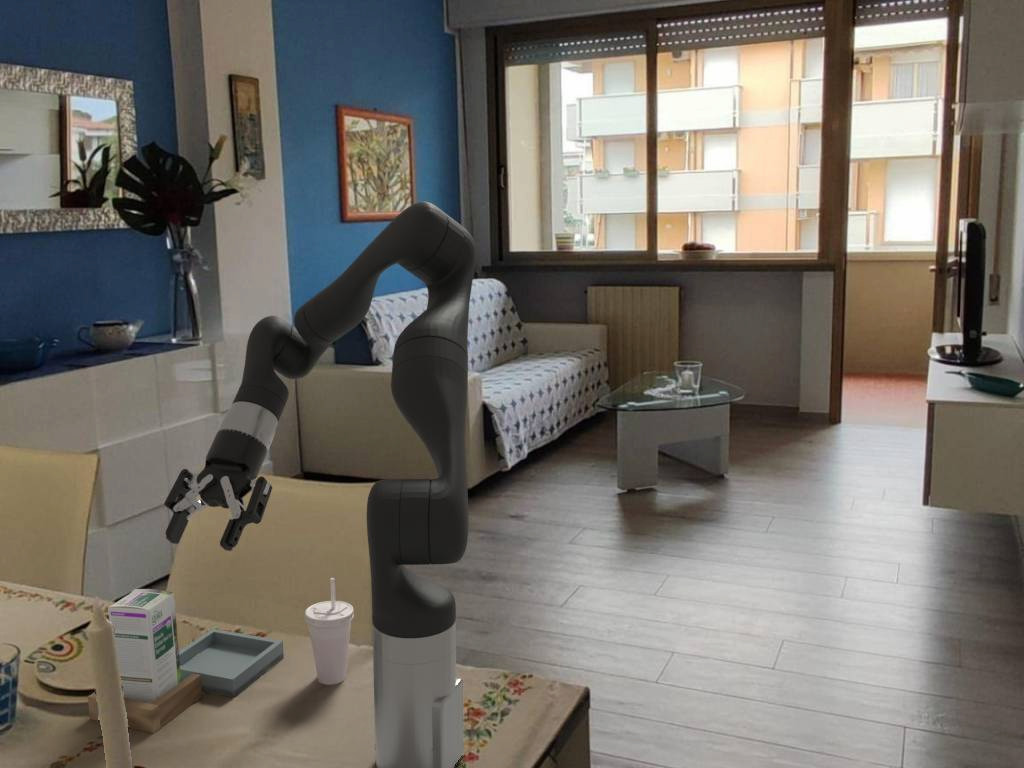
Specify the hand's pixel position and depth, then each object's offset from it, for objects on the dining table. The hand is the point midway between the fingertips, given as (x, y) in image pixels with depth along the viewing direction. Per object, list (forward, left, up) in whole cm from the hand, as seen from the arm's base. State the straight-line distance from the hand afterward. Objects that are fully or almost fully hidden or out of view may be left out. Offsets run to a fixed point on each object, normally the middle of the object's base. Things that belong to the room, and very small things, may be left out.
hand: (197, 544), depth 129 cm
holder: (0, +11, -17) cm, 21 cm away
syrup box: (0, +11, -18) cm, 21 cm away
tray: (-3, 0, -17) cm, 18 cm away
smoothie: (-18, -3, -18) cm, 25 cm away
